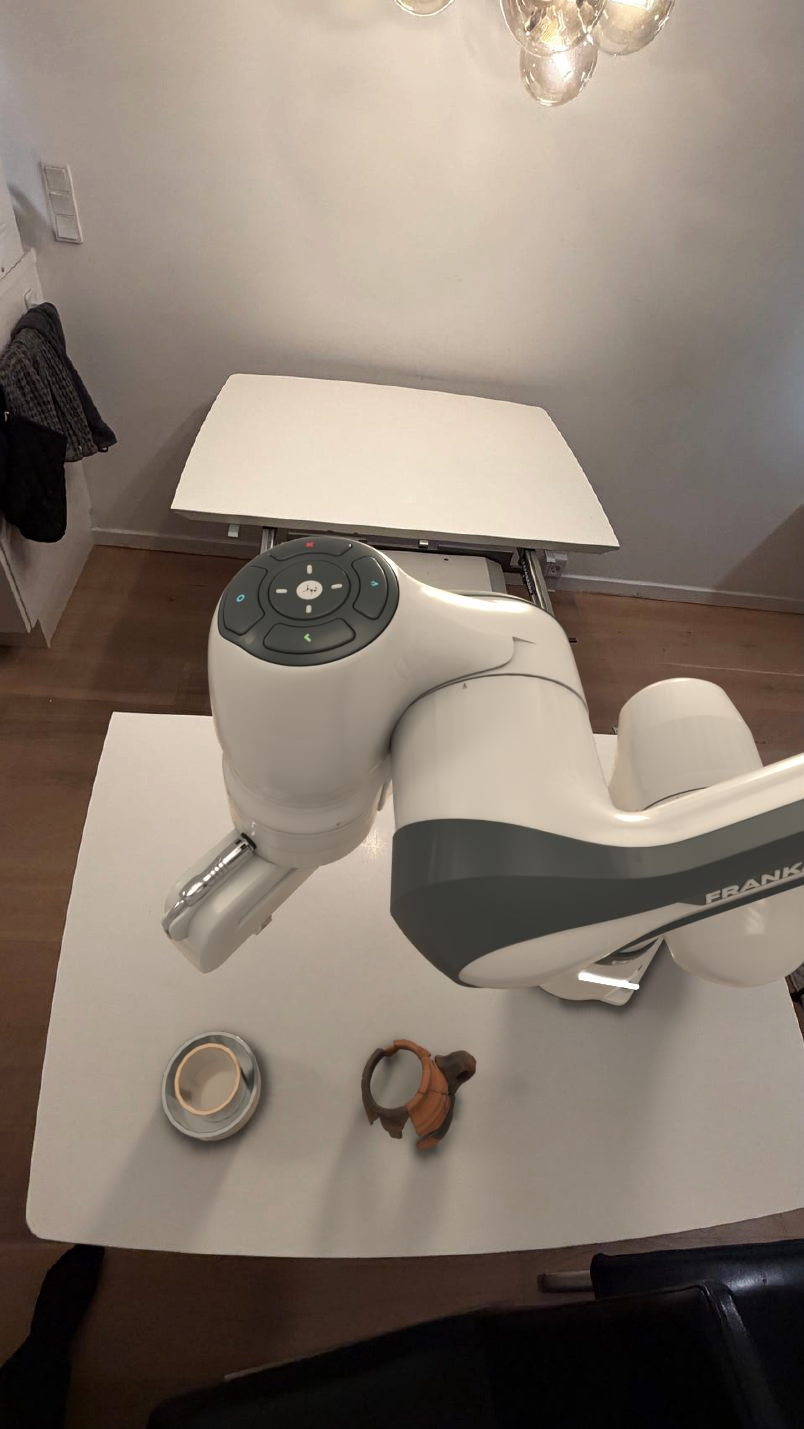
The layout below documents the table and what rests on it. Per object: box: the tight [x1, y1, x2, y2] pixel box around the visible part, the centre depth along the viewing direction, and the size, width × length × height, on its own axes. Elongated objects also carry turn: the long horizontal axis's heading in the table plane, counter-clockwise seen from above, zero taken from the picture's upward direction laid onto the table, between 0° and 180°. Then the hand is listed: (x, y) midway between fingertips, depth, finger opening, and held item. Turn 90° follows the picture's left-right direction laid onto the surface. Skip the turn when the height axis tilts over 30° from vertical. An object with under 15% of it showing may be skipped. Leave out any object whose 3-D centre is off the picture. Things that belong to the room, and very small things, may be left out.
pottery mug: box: [360, 1038, 477, 1151], centre depth 68 cm, size 12×10×8 cm
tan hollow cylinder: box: [174, 1043, 246, 1122], centre depth 64 cm, size 6×6×9 cm
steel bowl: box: [160, 1030, 262, 1142], centre depth 65 cm, size 9×9×6 cm
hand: (303, 874), depth 50 cm, fingers open, 8 cm apart
